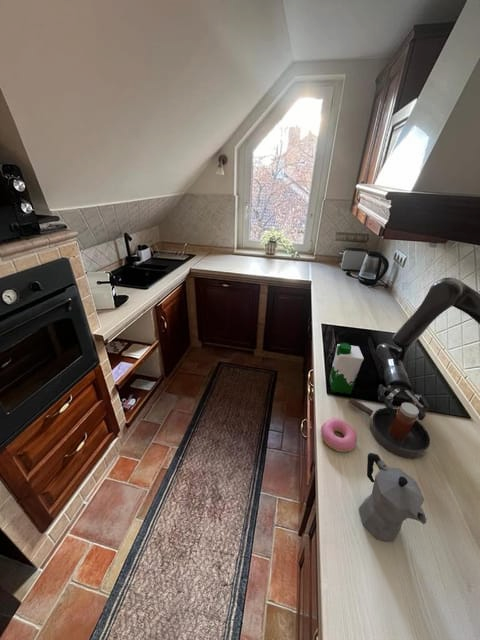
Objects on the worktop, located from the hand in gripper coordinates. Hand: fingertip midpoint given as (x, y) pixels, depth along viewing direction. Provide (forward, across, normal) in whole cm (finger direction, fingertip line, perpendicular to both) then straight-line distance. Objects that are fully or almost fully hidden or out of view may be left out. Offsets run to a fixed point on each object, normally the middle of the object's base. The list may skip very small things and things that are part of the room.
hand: (406, 414), depth 79 cm
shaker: (+1, 0, +8) cm, 9 cm away
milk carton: (-16, -18, +9) cm, 26 cm away
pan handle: (-5, -11, +7) cm, 14 cm away
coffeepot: (+28, -9, +9) cm, 31 cm away
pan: (+1, 0, +9) cm, 9 cm away
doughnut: (+9, -18, +9) cm, 22 cm away
